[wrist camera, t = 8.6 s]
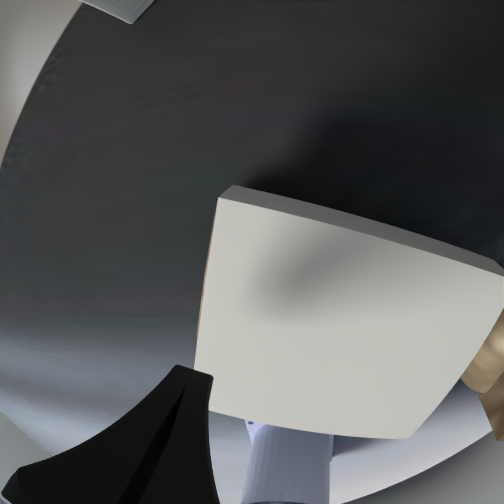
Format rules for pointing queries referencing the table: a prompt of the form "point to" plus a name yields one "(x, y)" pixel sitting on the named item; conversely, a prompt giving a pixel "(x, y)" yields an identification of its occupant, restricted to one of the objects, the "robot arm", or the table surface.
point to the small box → (122, 8)
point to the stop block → (495, 407)
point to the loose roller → (487, 360)
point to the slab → (336, 317)
